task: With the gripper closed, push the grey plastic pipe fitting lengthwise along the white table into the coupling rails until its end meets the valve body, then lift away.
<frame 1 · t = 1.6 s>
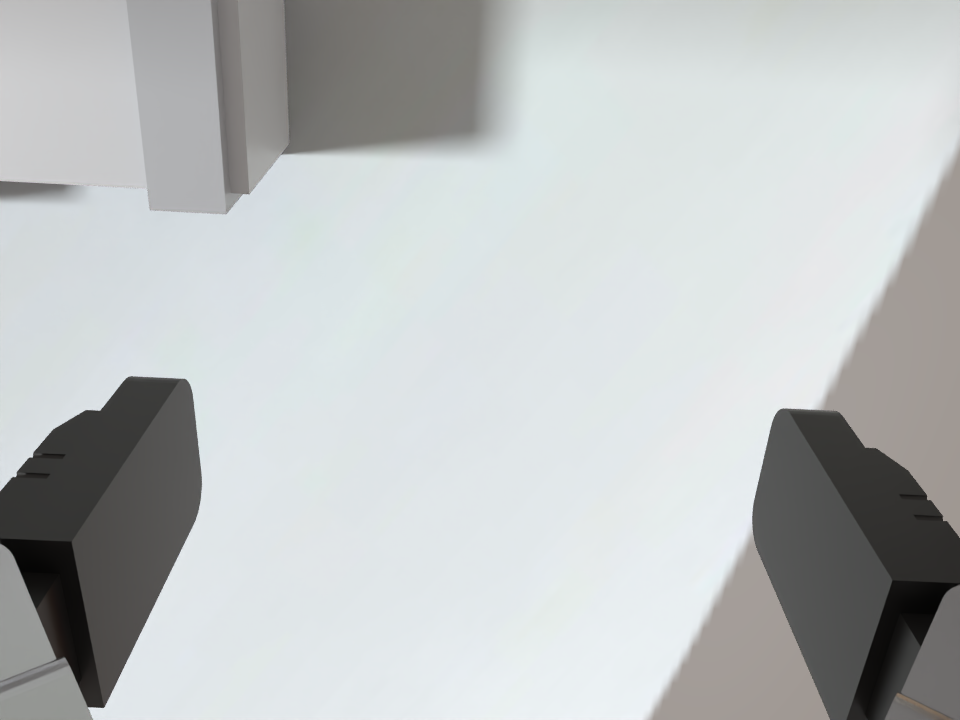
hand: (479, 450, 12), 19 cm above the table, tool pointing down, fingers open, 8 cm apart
fitting: (127, 55, 28), on the table
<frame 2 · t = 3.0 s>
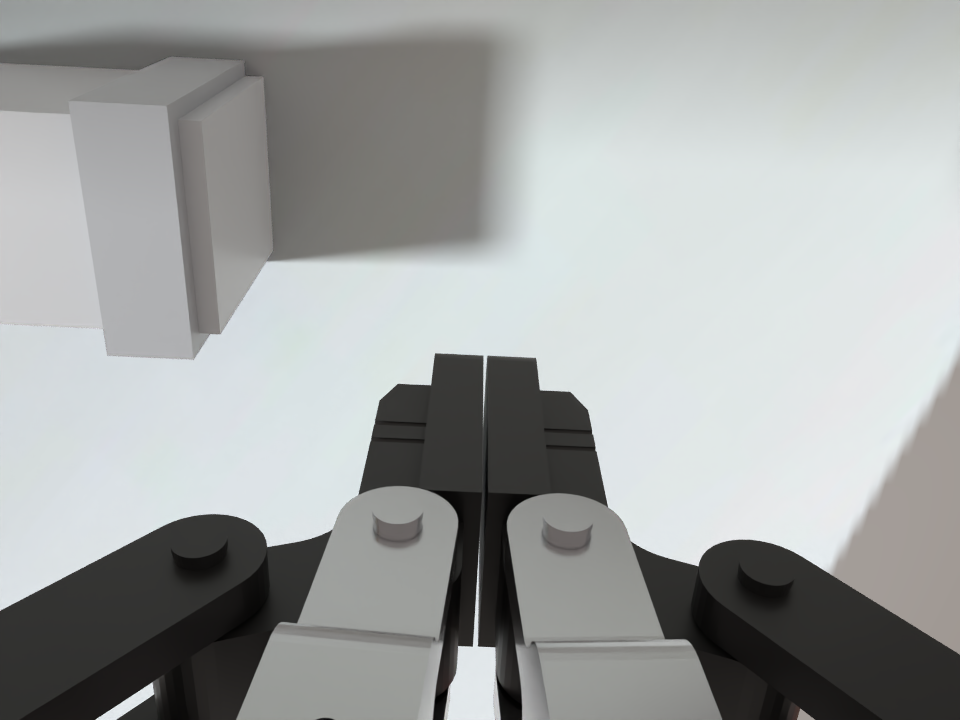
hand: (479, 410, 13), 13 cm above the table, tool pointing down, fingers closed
fitting: (92, 158, 25), on the table
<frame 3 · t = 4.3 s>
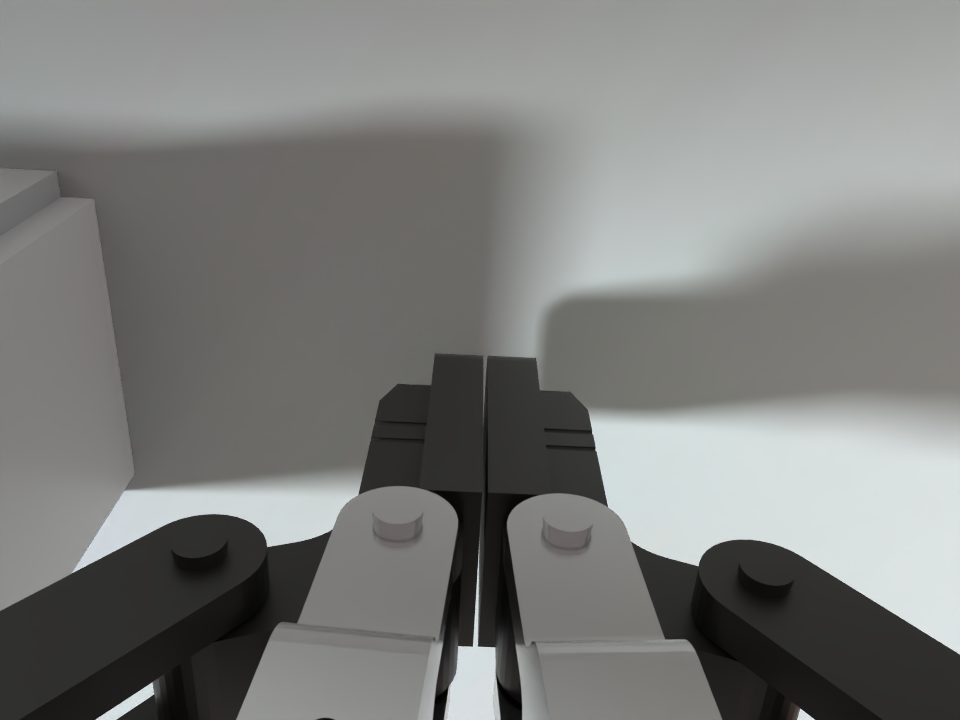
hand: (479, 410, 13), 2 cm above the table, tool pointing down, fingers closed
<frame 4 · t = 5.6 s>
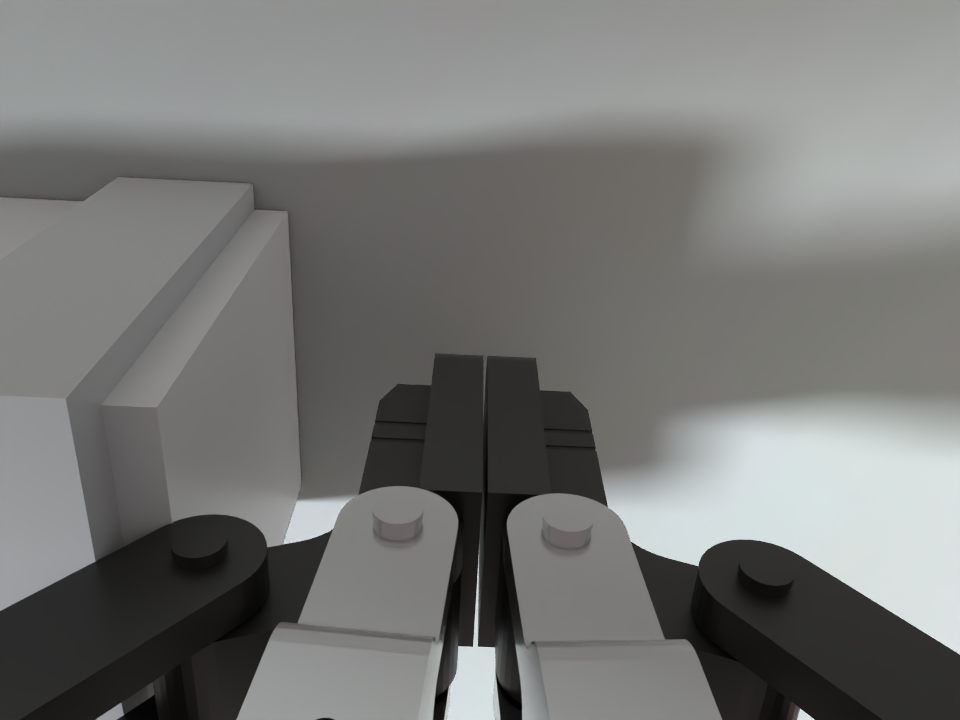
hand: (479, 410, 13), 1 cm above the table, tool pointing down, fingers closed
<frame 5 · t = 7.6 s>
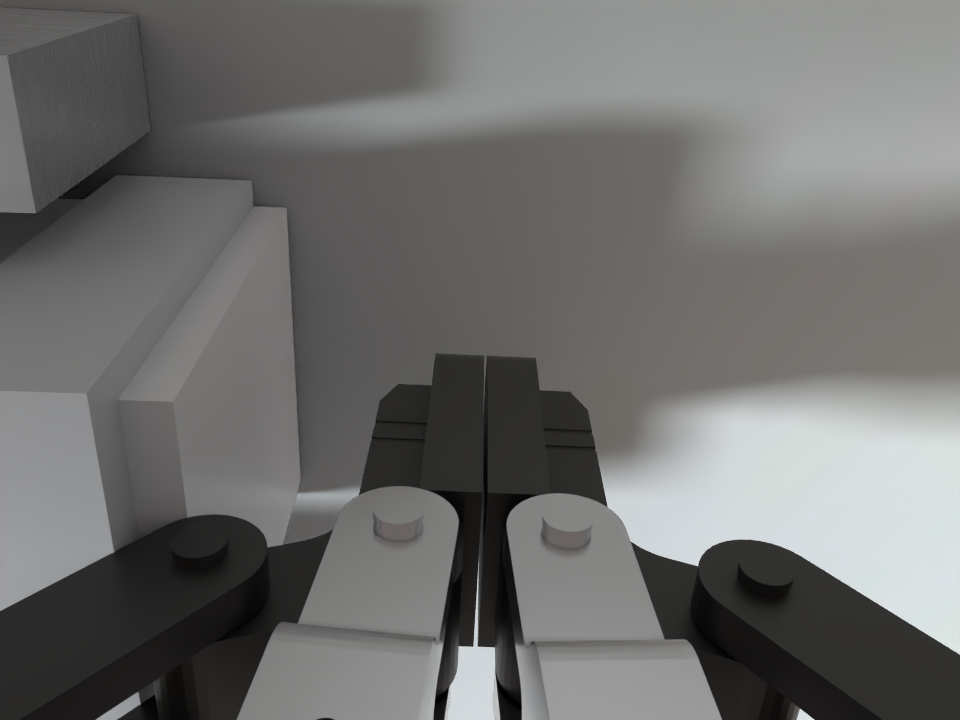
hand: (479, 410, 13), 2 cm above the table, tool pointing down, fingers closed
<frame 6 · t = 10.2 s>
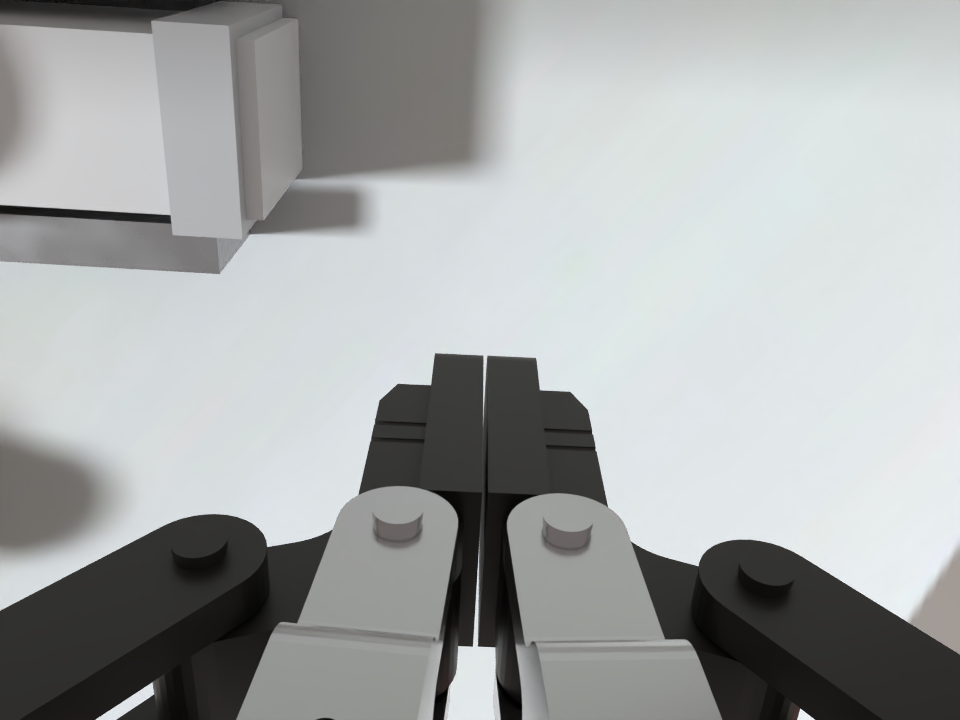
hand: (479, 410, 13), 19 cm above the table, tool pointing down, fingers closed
valve coupling: (107, 82, 30), on the table
fitting: (153, 87, 30), on the table
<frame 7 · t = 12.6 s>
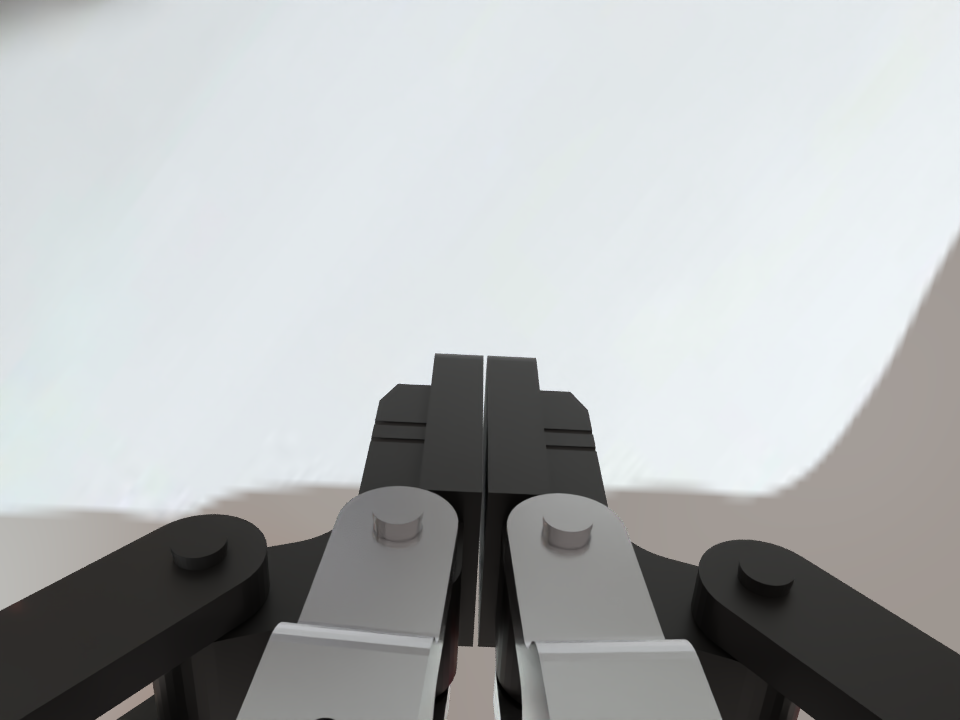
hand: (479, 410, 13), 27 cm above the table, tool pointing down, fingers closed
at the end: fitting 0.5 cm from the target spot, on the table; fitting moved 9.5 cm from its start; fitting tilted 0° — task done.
